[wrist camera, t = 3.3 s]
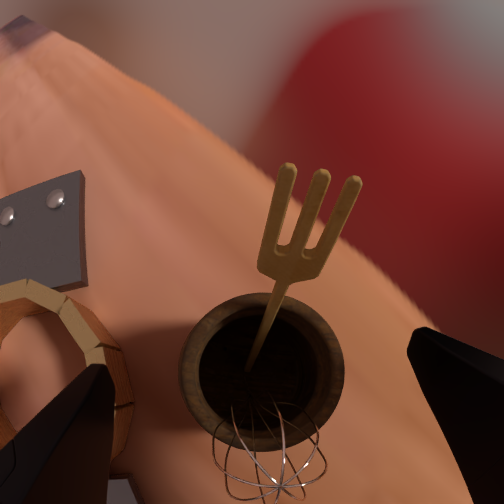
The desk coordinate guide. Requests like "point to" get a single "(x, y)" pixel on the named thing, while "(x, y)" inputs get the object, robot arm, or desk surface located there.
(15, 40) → the desk surface
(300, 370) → the utensil holder
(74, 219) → the wooden ring bracket
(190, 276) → the desk surface
